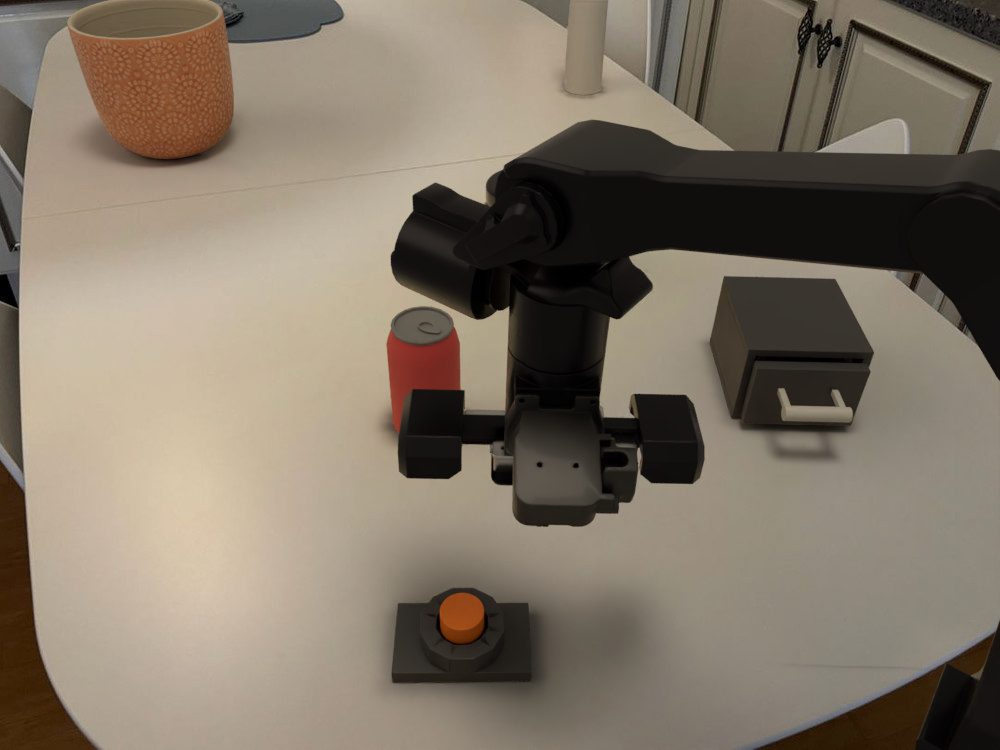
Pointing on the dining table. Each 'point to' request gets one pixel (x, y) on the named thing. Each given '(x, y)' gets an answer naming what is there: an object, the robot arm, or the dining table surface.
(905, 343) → the dining table surface
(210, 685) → the dining table surface
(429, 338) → the beer can
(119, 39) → the planter
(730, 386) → the small storage cabinet
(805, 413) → the drawer
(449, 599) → the button
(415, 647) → the control block
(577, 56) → the bottle
